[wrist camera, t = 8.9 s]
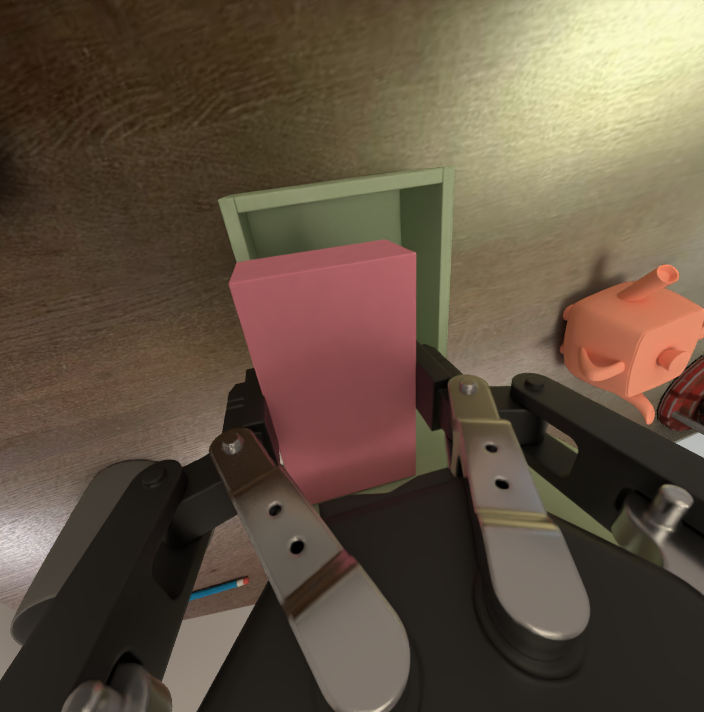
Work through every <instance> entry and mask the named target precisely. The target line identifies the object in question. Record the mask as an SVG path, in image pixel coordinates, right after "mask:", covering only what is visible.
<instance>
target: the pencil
mask: <svg viewBox="0 0 704 712" xmlns="http://www.w3.org/2000/svg"><path fill="white" fill-rule="evenodd" d="M248 583H249V578H248V577H246V578H242V579H239V580H235V581H232V582H229V583H225V584H222V585H218V586H215V587H211V588H208V589H205V590H201V591H198V592H194V593H191V596H190V599H189V601H191V600H194V599H197V598H201V597H204V596H207V595H211V594H214V593H218V592H221V591H224V590H228V589H231V588H235V587H238V586H241V585H245V584H248Z"/></svg>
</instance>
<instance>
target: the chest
mask: <svg viewBox="0 0 704 712" xmlns="http://www.w3.org/2000/svg"><path fill="white" fill-rule="evenodd" d="M454 185H455V166H448V167H437V168H426V169H415V170H404V171H397V172H390V173H382V174H375V175H368V176H361V177H354V178H347V179H339V180H332V181H325V182H318V183H311V184H303V185H296V186H289V187H282V188H275V189H268V190H260V191H253V192H246V193H239V194H232V195H229V196H226V197H223V198H220V199H218V203H219V206H220V209H221V213H222V216H223V219H224V223H225V226H226V229H227V232H228V236H229V239H230V242H231V246H232V249H233V252H234V255H235V259H236V262H241V261H248V260H254V259H261V258H267V257H273V256H280V255H286V254H293V253H299V252H306V251H312V250H319V249H325V248H332V247H338V246H345V245H351V244H358V243H364V242H371V241H377V240H384V239H386V240H388V241H390V242H393V243H395V244H397V245H399V246H402V247H404V248H406V249H409V250H411V251H413V252H415V253H416V340H417V341H418V342H419V343H420V344H421V345H422V344H427V345H429V346H432V347H434V348H436V349H437V350H438V351H439V352H440V353H441V354H442V355H443V356H444V357H445V358H447V337H448V315H449V294H450V272H451V250H452V229H453V207H454Z"/></svg>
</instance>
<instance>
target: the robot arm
mask: <svg viewBox="0 0 704 712" xmlns="http://www.w3.org/2000/svg"><path fill="white" fill-rule="evenodd" d="M226 409H227V410H226V413H225V419H224V425H223V431H222V434H221V435H219V436H218V437H217V438H216V439H215V440H214V441H213V442H212V443H211V445H210V448H209V454H207V455H206V456H204V457H202V458H200V459H199V460H196V461H194V462H192V463H190V464H188V465H186V466H184V467H182V466H181V464H180V463H179V462H177V461H175V460H163V461H160V462H157V463H154V464H152V465H150V466H148V467H147V468H145V469H144V470H142V471H141V472H140V473H139V474H137V475H136V476H135V478H134V479H133V480H132V481H131V483H130V484H129V486H128V487H127V489H126V490H125V492H124V493H123V495H122V496H121V498H120V499H119V501H118V502H117V504H116V505H115V507H114V508H113V510H112V512H111V513H110V515H109V516H108V518H107V519H106V521H105V522H104V524H103V525H102V527H101V528H100V530H99V531H98V533H97V534H96V536H95V537H94V539H93V540H92V542H91V543H90V545H89V546H88V548H87V549H86V551H85V553H84V554H83V556H82V557H81V559H80V560H79V562H78V563H77V565H76V566H75V568H74V569H73V571H72V572H71V574H70V575H69V577H68V578H67V580H66V581H65V583H64V584H63V586H62V587H61V589H60V590H59V592H58V594H57V595H56V597H55V598H54V600H53V601H52V603H51V604H50V606H49V607H48V609H47V610H46V612H45V613H44V615H43V616H42V618H41V619H40V621H39V622H38V624H37V625H36V627H35V628H34V630H33V631H32V633H31V635H30V636H29V638H28V639H27V641H26V642H25V644H24V645H23V647H22V648H21V650H20V651H19V653H18V654H17V656H16V657H15V659H14V660H13V662H12V664H11V665H10V666H9V668H8V669H7V671H6V672H5V674H4V676H3V677H2V679H1V680H0V712H172V698H171V694H170V692H169V690H168V688H167V687H166V686H165V685H164V684H163V683H162V679H163V676H164V673H165V670H166V668H167V665H168V661H169V659H170V656H171V652H172V650H173V647H174V644H175V641H176V638H177V635H178V632H179V629H180V626H181V623H182V620H183V617H184V614H185V611H186V608H187V605H188V602H189V599H190V596H191V593H192V590H193V587H194V584H195V581H196V578H197V575H198V572H199V569H200V566H201V563H202V560H203V557H204V554H205V551H206V548H207V545H208V542H209V539H210V537H211V534H212V530H213V528H215V527H217V526H219V525H220V524H222V523H224V522H225V521H227V520H229V519H231V518H232V517H234V516H236V515H237V514H238V516H239V518H240V520H241V522H242V524H243V526H244V528H245V531H246V533H247V535H248V537H249V539H250V541H251V543H252V545H253V548H254V550H255V552H256V554H257V556H258V558H259V560H260V562H261V564H262V567H263V569H264V571H265V573H266V575H267V577H268V579H269V580H268V582H267V584H266V586H265V588H264V589H263V591H262V593H261V595H260V597H259V599H258V600H257V602H256V604H255V606H254V608H253V610H252V611H251V613H250V615H249V617H248V619H247V621H246V623H245V624H244V626H243V628H242V630H241V632H240V633H239V636H238V637H237V639H236V641H235V643H234V644H233V646H232V648H231V650H230V652H229V654H228V655H227V657H226V659H225V661H224V663H223V665H222V666H221V668H220V670H219V672H218V674H217V676H216V677H215V679H214V681H213V683H212V685H211V687H210V688H209V690H208V692H207V694H206V696H205V697H204V699H203V701H202V703H201V705H200V707H199V709H198V710H197V712H704V458H703V457H701V456H699V455H697V454H695V453H693V452H691V451H689V450H688V449H686V448H684V447H682V446H680V445H678V444H676V443H674V442H672V441H670V440H668V439H666V438H664V437H662V436H660V435H658V434H656V433H655V432H653V431H651V430H649V429H647V428H645V427H643V426H641V425H639V424H637V423H635V422H633V421H631V420H629V419H627V418H625V417H623V416H622V415H620V414H618V413H616V412H614V411H612V410H610V409H608V408H606V407H604V406H602V405H600V404H598V403H596V402H594V401H592V400H591V399H589V398H587V397H585V396H583V395H581V394H579V393H577V392H575V391H573V390H571V389H569V388H567V387H565V386H563V385H561V384H559V383H558V382H556V381H554V380H552V379H550V378H548V377H546V376H543V375H539V374H535V373H522V374H518V375H516V376H514V377H513V379H512V383H511V386H489V385H488V383H487V382H486V381H485V380H483V379H482V378H479V377H477V376H473V375H463V374H462V373H461V372H460V371H459V370H458V369H457V368H456V367H455V366H454V365H453V364H451V363H450V362H449V361H448V360H447V359H446V358H445V357H444V356H443V355H442V354H441V353H440V352H439V351H438V350H437V349H436V348H434V347H432V346H429V345H427V344H422V345H421V344H420V343H419V342H418V341H417V340H416V409H417V410H418V412H419V413H420V415H421V416H422V418H423V419H424V421H425V422H426V424H427V425H428V427H429V428H430V429H431V431H432V432H433V431H436V430H440V429H442V430H443V431H444V445H445V453H446V461H447V467H446V468H443V469H439V470H436V471H432V472H429V473H425V474H422V475H418V476H416V477H415V478H413V479H411V480H410V481H408V482H406V483H405V484H403V485H401V486H399V487H398V488H396V489H394V490H393V491H391V492H388V493H375V494H355V495H349V496H345V497H342V498H338V499H335V500H331V501H328V502H324V503H321V504H318V506H319V512H320V515H319V514H318V513H317V511H316V510H315V509H314V507H313V506H312V505H311V503H310V502H309V500H308V499H307V498H306V496H305V495H304V494H303V492H302V491H301V490H300V488H299V487H298V485H297V484H296V483H295V481H294V480H293V479H292V477H291V476H290V475H289V473H288V472H287V470H286V469H285V468H284V467H283V465H282V464H280V455H279V442H278V439H277V435H276V432H275V429H274V426H273V422H272V419H271V416H270V412H269V409H268V406H267V403H266V399H265V396H263V395H262V391H261V388H260V385H259V382H258V378H257V375H256V372H255V369H254V368H252V369H247V370H246V379H245V382H244V383H239V384H235V386H234V387H233V388H232V390H231V391H230V392H229V396H228V403H227V407H226ZM548 423H549V424H551V425H553V426H554V427H556V428H557V429H559V430H560V431H562V432H563V433H565V434H567V435H568V436H570V437H571V438H572V439H573V440H574V441H575V443H576V444H577V446H578V454H577V453H576V452H574V451H573V450H571V449H570V448H568V447H567V446H565V445H564V444H562V443H561V442H559V441H558V440H556V439H555V438H553V437H552V436H550V435H549V434H548V433H546V430H547V427H548ZM528 466H529V467H530V468H532V469H533V470H534V471H535V472H536V473H538V474H539V475H540V476H541V477H543V478H544V479H545V480H546V481H548V482H549V483H550V484H551V485H553V486H554V487H555V488H556V489H557V490H559V491H560V492H561V493H562V494H564V495H565V496H566V497H567V498H569V499H570V500H571V501H572V502H574V503H575V504H576V505H577V506H578V507H580V508H581V509H582V510H583V511H585V512H586V513H587V514H588V515H590V516H591V517H592V518H593V519H594V520H596V521H597V522H598V523H599V524H601V525H602V526H603V527H604V528H606V529H607V530H608V531H609V532H611V533H612V534H613V536H614V539H615V540H616V542H617V543H618V545H619V546H618V545H616V544H614V543H612V542H609V541H607V540H605V539H603V538H601V537H599V536H597V535H595V534H593V533H591V532H589V531H587V530H585V529H583V528H581V527H579V526H577V525H575V524H573V523H570V522H568V521H566V520H564V519H562V518H560V517H558V516H556V515H554V514H552V513H550V512H548V511H546V510H545V507H544V505H543V502H542V500H541V497H540V495H539V492H538V490H537V487H536V485H535V482H534V480H533V477H532V474H531V472H530V469H529V467H528Z"/></svg>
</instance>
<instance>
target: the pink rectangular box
mask: <svg viewBox="0 0 704 712" xmlns="http://www.w3.org/2000/svg"><path fill="white" fill-rule="evenodd" d="M229 287H230V291H231V294H232V297H233V300H234V304H235V307H236V310H237V313H238V317H239V320H240V323H241V326H242V330H243V333H244V336H245V339H246V343H247V346H248V349H249V352H250V356H251V359H252V362H253V365H254V369H255V372H256V375H257V378H258V382H259V385H260V388H261V391H262V395H263V396H265V399H266V403H267V406H268V409H269V412H270V416H271V419H272V422H273V426H274V429H275V432H276V435H277V439H278V442H279V450H280V453H281V456H282V459H283V463H284V466H285V469H286V470H287V472H288V473H289V475H290V476H291V477H292V479H293V480H294V481H295V483H296V484H297V485H298V487H299V488H300V490H301V491H302V492H303V494H304V495H305V496H306V498H307V499H308V500H309V502H310V503H311V505H313V504H316V503H320V502H323V501H327V500H330V499H334V498H337V497H341V496H344V495H348V494H351V493H355V492H358V491H362V490H365V489H369V488H372V487H375V486H379V485H382V484H386V483H389V482H393V481H396V480H400V479H403V478H407V477H410V476H414V475H416V253H415V252H413V251H411V250H409V249H406V248H404V247H402V246H399V245H397V244H395V243H393V242H390V241H388V240H386V239H384V240H377V241H371V242H364V243H358V244H351V245H345V246H338V247H332V248H325V249H319V250H312V251H306V252H299V253H293V254H286V255H280V256H273V257H267V258H261V259H254V260H248V261H241V262H237V263H236V265H235V268H234V271H233V274H232V276H231V279H230V282H229Z"/></svg>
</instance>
